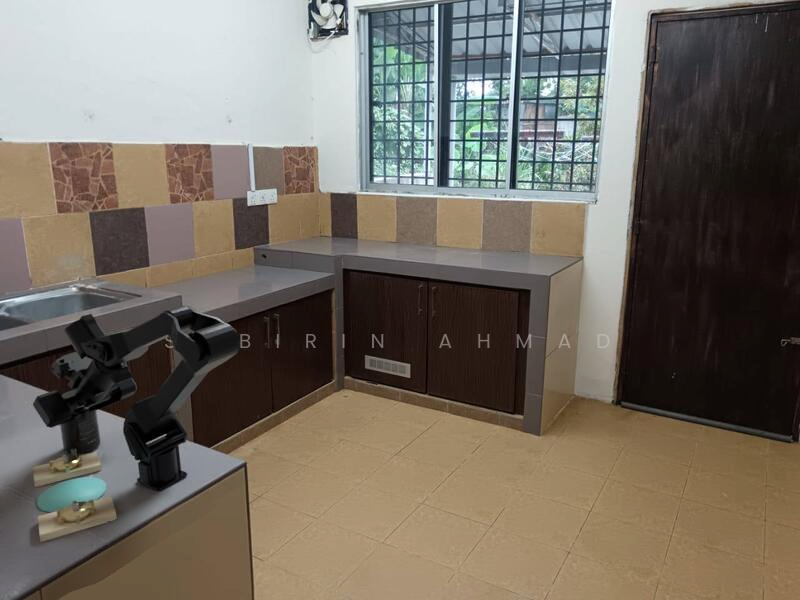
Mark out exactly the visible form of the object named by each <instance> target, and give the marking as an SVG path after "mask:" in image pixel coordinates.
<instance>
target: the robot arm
mask: <svg viewBox="0 0 800 600" xmlns="http://www.w3.org/2000/svg"><path fill="white" fill-rule="evenodd" d="M189 329H190V330H191V332H189V333H186V332H184V331H186V330H189ZM63 331H64V334H65V337H67V339H68V340H69V343H70V344H71V345H72V347H73V348H74V350H75V351H74V352H71V353H68V354H64V355H62V356H60V357H59V358H57V359H56V360H55V361H53V363H52V364H51V369H50V370H51V373H52V374H53V375H54V376H55V377H56V378H57V379H61V378H66V379H67V380H68V381H69V382H68V383H67V386H68V387H69V388H70V390H74V395H75V396H72V397H69V398H67V399H63V397H62V395H61V392H60V391H59V390H55V389H53V390H51V391H49V392H46V393H42V394H40V395H37V396H36V398H35V399H34V401H33V403H32V406H33V408H34V409H35V411H36V412H37V414H38V415H39V417H40V418H41V420H42V422H43V423H44V425H45V426H46V427H47V428H51V429H52V428H55V427H57V426H59V427H60V425H61V424H64V423H66V422H69V421H71V420H74V417H73V416H72V413H73V411H74V409H77V408H79V407H82V406H84V405H85V407H86V408H89V407H91V406H94V405H95V407H96V411H98V410H101V409H103V408H105V407H108V406H111V405H113V404H116V403H118V402H121V401H122V400H124V399H127V398H129V397H131V396H134V394H135V393H136V391H137V389H138V388H137V384H136V382H135V381H134V378H133V375H132V372H131V370H130V368H129V366H128V364H127V362H128V361H132V360H135V359H138V358H140V357H142V355H144V354H145V353H146V352H147V351H148V350H149V347H150V346H151V345H153V344H155V343H157V342H160V341H162V340H164V339H167V338H168V337H170V340H171V342H172V347H173V349H174V350H175V351H176V352H178V353H179V355H180V358H181V360H180V361H179V363H178V364H177V366H176V367H175V368H174V370H173V371H172V372H171V373H170V375H169V376H168V377H167V379H166V380H165V381H164V383H163V384H162V385H161V387H160V388H159V390H158V391H156V394H153V395H152V396H151V395H150V396H149V397H146V398H144V399H141V400H139V401H136V402H133V404H132V405H131V406H130V409H129V411H128V412H126V413H124V417H126V418H125V419H124V421H123V428H122V431H123V432H122V433H123V436H124V439H125V442H126V444H127V448H128V451H129V453H130V455H131V456H133V457H134V460H135V461H138V463H137V466H138V474H139V476H138V478H136V482H137V483H139V484H141V485H143V486H145V487H148V488H151V489H153V490H154V491H158V492H159V491H162V490H164V489H165V488H167V487H169V486H171V485H172V484H174V483H176V482H178V481H180V480H182V479H184V478H185V477H187V476H188V472H187V471H184V470H182V467H181V466H182V464H181V455H180V454H181V453H180V447H179V446H180V445H181V444H184V443H186V442H187V436H188V434H187V432H186V430H185V429H184V427H183V425H182V424H181V423H180V421H179V417H178V416H179V415H178V413H177V411H178V410H179V409H180V408H181V406H183V405H184V403H185V402H186V401H187V399H188V398H189V397H190V395H191V394H192V393H193V392H194V391H195V389H197V387H198V386H199V384H200V383H201V382H202V381H203V380H204V378H205V377H206V376H207V375H208V373H209V372H210V371H212V370H214V369H215V368H217V367H219V366H220V365H222V364H224V363H225V362H227V361H228V360H229V359H231V358H233V356H235V355H236V354H237V353H239V350H240V347H241V344H240V337H239V333H238V331H237V330H236V329H235V328H233V326H232V325H230V324H229V323H227V322H224V321H223V320H222V319H220V318H219V317H216V316H213V315H209V314H207V313H204V312H203V313H202V312H200V311H197V310H196V309H194V308H193V307H191V306H189V305H180V306H177V307H174V308H169V309H165V310H163V311H162V312H161V313H160V314H159V315H158V314H157V315H156V316H154V317H153V318H151V319H148V320H146V321H144V322H142V323H140V324H138V325H136V326H135V327H129V328H125V329H122V330H118V331H115V332H112V333H108V334H105V332H104V331H103V330H102V328H101V327H100V325H99V324H98V322H97V321H96V318H95V316H94V315H93V314H92V313H88V314H84V315H81V317H80V318H79V319H77V320H75V321H74V322H72V323H70V324H69V325H68V326H65V328H64V330H63ZM71 405H72V406H71Z"/></svg>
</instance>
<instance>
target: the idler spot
mask: <svg viewBox="0 0 800 600" xmlns="http://www.w3.org/2000/svg"><path fill="white" fill-rule="evenodd" d="M106 491H107V483H106V481H104V480H103V479H101V478H98V477H90V476H88V477H75V478H70V479H66V480H65V481H64V480H63V481H61V482H59V483H56V484H54V485H52V486H50V487H48V488H47V489H46V490H44V491H43V492H42V493H41V494H40V495H38V497H37V499H36V506H37V508H38V509H40V510H41V511H43V512H46V513H52V512H56V511H57V510H58V509H63V508H64V507H66V506H68V505H70V504H72V503H73V502H72V501H75V500H76V501H77V502H88V501H90V500H93V501H95V500H99V499H101V498H102V496H103V495H104V494H105V493H106Z"/></svg>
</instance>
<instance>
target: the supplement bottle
mask: <svg viewBox="0 0 800 600" xmlns="http://www.w3.org/2000/svg"><path fill="white" fill-rule="evenodd" d="M61 396H62V397H63V399H67V398H69V397H72V396H75V395H74V389H71V390H68V391H67V392H66V391H65V392H63V394H62V395H61ZM71 406H72V405H71ZM72 416H73V417H74V420H71V421H69V422H66V423H64V424H61V425H59V427H60V428H59V429H60V434H61V435H60V436H61V441H62V446H63V447H62V448H63V450H64V452H65V453H66V454H67V455H72V454H71V449H73V448H76V451H77V455H78V454H82V455H85V454H89V453H92V452H94V451H95V450H96V449H98V448H99V446H100V445H101V435H100V428H99V421H98V413H97V410H96V407H95V405H94V406H91V407H89V408H86V407H85V405H84V406H82V407H79V408H77V409H74V411H73V413H72Z"/></svg>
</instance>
